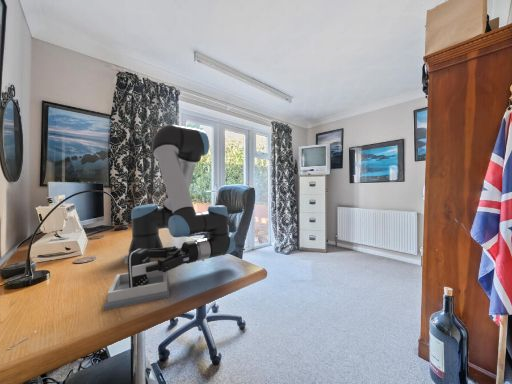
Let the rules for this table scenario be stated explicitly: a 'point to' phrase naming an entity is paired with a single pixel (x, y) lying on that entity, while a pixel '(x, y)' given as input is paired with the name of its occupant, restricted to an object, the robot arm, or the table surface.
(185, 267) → the table surface
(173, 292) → the table surface
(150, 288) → the tray
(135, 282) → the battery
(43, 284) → the table surface
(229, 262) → the table surface
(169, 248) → the robot arm
